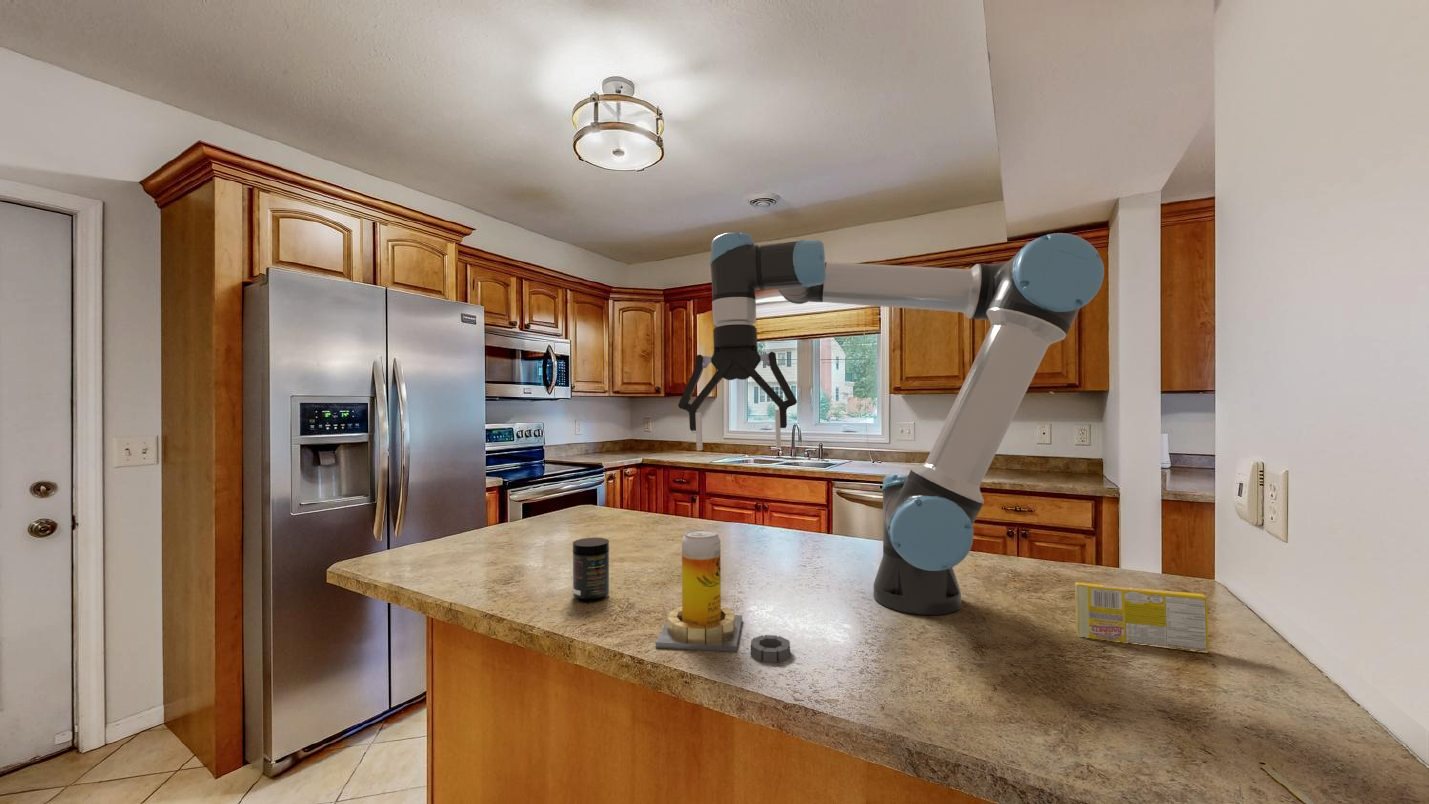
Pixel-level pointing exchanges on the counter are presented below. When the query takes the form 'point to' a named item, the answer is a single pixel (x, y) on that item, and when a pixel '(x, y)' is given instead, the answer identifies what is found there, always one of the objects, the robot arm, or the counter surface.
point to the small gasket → (770, 648)
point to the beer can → (701, 577)
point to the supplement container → (590, 569)
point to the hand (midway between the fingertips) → (738, 449)
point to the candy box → (1142, 616)
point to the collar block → (701, 633)
